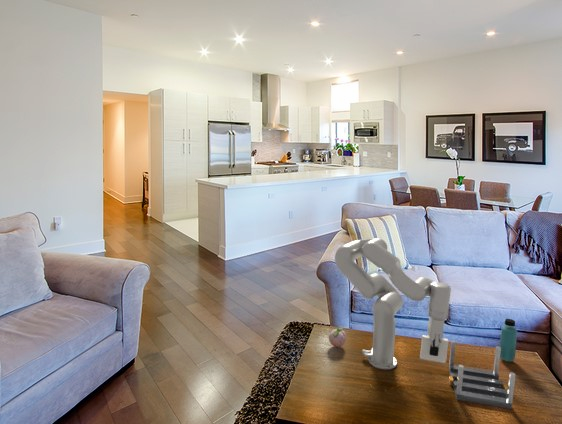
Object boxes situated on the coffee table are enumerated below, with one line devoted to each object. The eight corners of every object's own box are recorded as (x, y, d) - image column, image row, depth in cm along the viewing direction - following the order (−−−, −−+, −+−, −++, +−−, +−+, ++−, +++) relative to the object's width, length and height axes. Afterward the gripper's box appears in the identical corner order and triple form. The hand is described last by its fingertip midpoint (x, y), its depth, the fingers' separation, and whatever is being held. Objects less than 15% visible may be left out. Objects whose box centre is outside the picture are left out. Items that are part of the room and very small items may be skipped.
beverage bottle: (516, 365, 168) (521, 324, 165) (500, 363, 169) (505, 322, 166) (511, 357, 174) (515, 317, 171) (495, 355, 176) (499, 316, 172)
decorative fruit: (331, 341, 189) (331, 322, 187) (347, 344, 186) (347, 325, 184) (326, 350, 180) (326, 330, 179) (342, 353, 177) (343, 334, 176)
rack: (453, 398, 145) (456, 366, 143) (445, 369, 165) (448, 339, 163) (515, 409, 139) (519, 375, 137) (499, 377, 159) (503, 347, 157)
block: (420, 358, 156) (422, 337, 154) (419, 356, 158) (422, 334, 156) (445, 363, 153) (448, 341, 152) (445, 360, 155) (447, 338, 153)
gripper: (426, 303, 160) (422, 342, 164) (430, 319, 145) (425, 362, 149) (445, 306, 158) (440, 345, 162) (450, 322, 143) (445, 365, 147)
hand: (433, 353), depth 155 cm, fingers closed on block, 2 cm apart
